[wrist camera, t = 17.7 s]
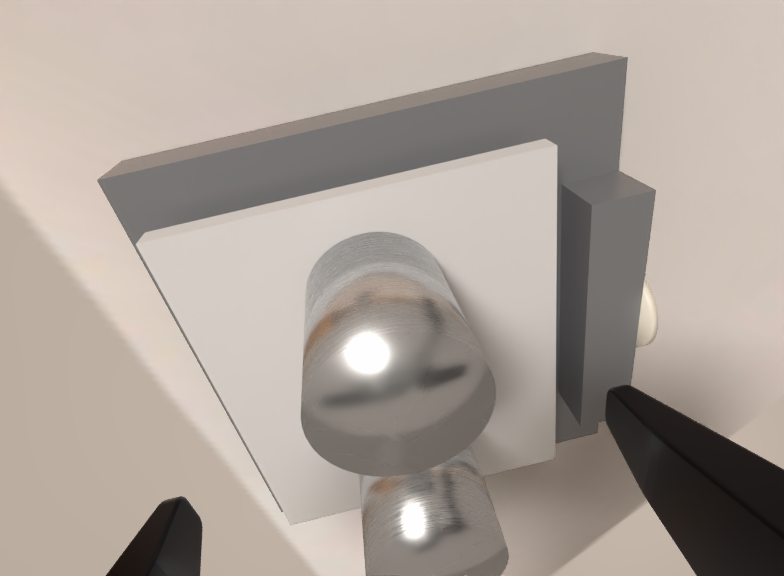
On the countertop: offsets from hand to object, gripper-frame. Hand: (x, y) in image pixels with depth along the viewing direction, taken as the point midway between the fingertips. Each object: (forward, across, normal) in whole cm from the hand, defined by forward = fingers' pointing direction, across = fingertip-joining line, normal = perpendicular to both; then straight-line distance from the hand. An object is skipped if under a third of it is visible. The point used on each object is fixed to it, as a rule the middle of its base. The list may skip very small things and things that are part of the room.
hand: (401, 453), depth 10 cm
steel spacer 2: (+6, 0, +7) cm, 9 cm away
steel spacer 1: (+6, 0, 0) cm, 6 cm away
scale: (+10, -1, +3) cm, 10 cm away
